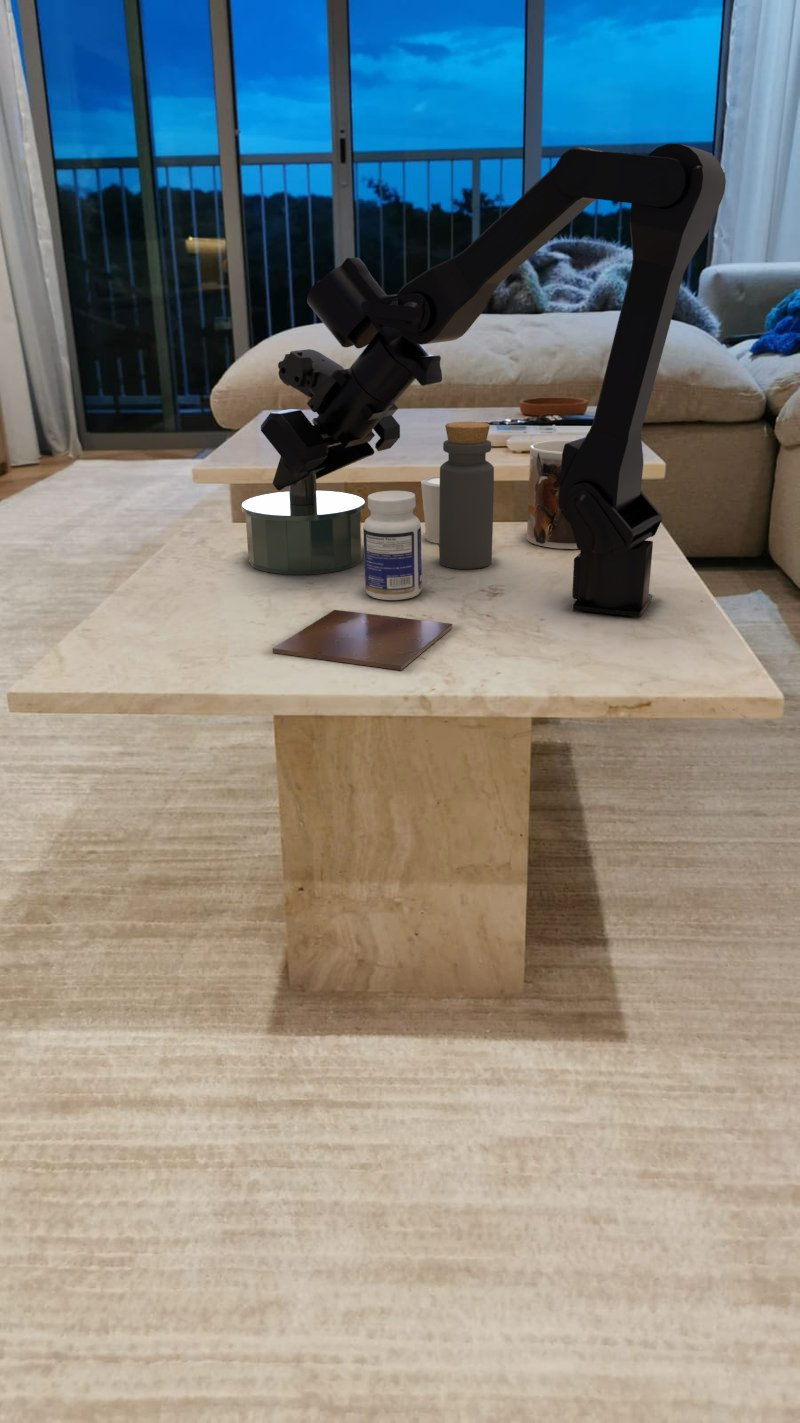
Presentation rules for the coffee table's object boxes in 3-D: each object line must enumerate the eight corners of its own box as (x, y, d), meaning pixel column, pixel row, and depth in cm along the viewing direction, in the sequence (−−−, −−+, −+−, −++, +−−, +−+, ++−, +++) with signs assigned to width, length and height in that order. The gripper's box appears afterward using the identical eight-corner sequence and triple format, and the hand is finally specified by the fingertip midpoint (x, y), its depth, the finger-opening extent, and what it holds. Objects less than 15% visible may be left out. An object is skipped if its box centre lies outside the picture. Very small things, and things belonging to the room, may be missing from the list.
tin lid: (384, 505, 122) (383, 441, 119) (331, 531, 111) (328, 460, 108) (279, 497, 127) (276, 435, 124) (218, 521, 116) (213, 453, 113)
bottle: (493, 569, 116) (496, 427, 111) (439, 569, 117) (440, 428, 111) (490, 555, 122) (493, 420, 116) (438, 556, 122) (439, 420, 116)
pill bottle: (384, 582, 112) (382, 487, 108) (432, 590, 109) (432, 492, 105) (354, 596, 107) (351, 497, 104) (403, 604, 105) (402, 502, 101)
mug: (593, 527, 134) (599, 437, 130) (637, 550, 123) (645, 452, 119) (514, 533, 132) (517, 441, 127) (552, 557, 121) (557, 457, 117)
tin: (379, 551, 124) (378, 501, 122) (331, 579, 113) (329, 524, 111) (283, 542, 129) (281, 493, 126) (228, 568, 118) (224, 515, 116)
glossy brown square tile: (452, 627, 98) (452, 623, 98) (401, 670, 88) (401, 666, 87) (334, 613, 102) (334, 609, 102) (272, 652, 92) (272, 648, 92)
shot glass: (474, 531, 133) (475, 474, 130) (481, 544, 127) (482, 485, 124) (418, 532, 133) (418, 475, 130) (423, 546, 126) (423, 486, 124)
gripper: (375, 318, 117) (297, 416, 126) (270, 326, 102) (191, 437, 112) (438, 396, 116) (355, 489, 125) (341, 416, 101) (256, 520, 111)
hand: (292, 482), depth 118 cm, fingers open, 6 cm apart
